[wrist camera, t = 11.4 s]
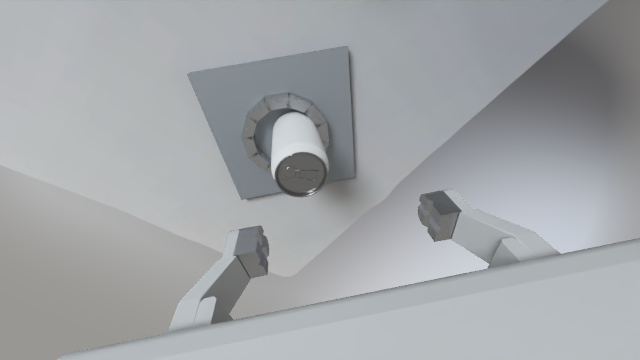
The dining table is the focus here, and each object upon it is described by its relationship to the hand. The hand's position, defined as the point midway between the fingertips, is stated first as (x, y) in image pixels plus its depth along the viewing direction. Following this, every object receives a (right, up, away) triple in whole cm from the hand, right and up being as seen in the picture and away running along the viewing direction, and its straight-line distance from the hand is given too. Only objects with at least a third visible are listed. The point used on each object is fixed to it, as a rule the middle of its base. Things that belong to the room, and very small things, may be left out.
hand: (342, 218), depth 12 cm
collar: (-6, +9, +22) cm, 25 cm away
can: (-5, +9, +22) cm, 25 cm away
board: (-6, +9, +23) cm, 26 cm away
